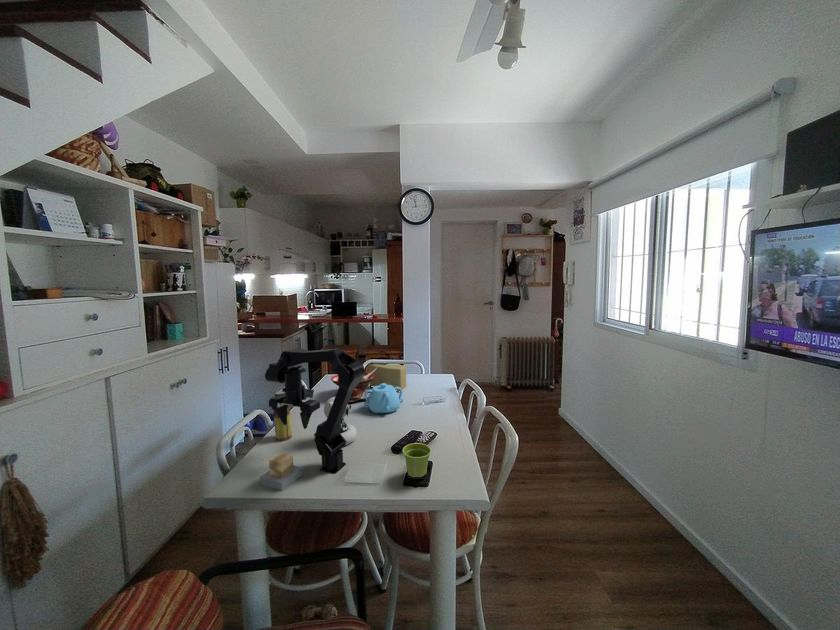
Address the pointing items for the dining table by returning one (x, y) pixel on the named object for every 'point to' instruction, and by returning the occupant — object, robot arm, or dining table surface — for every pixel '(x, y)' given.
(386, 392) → the decorative pot
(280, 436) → the sauce bottle
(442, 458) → the dining table surface
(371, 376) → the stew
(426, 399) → the dining table surface
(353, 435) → the decorative figurine
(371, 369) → the cheese
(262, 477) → the block
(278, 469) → the oak cube
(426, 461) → the plant pot
